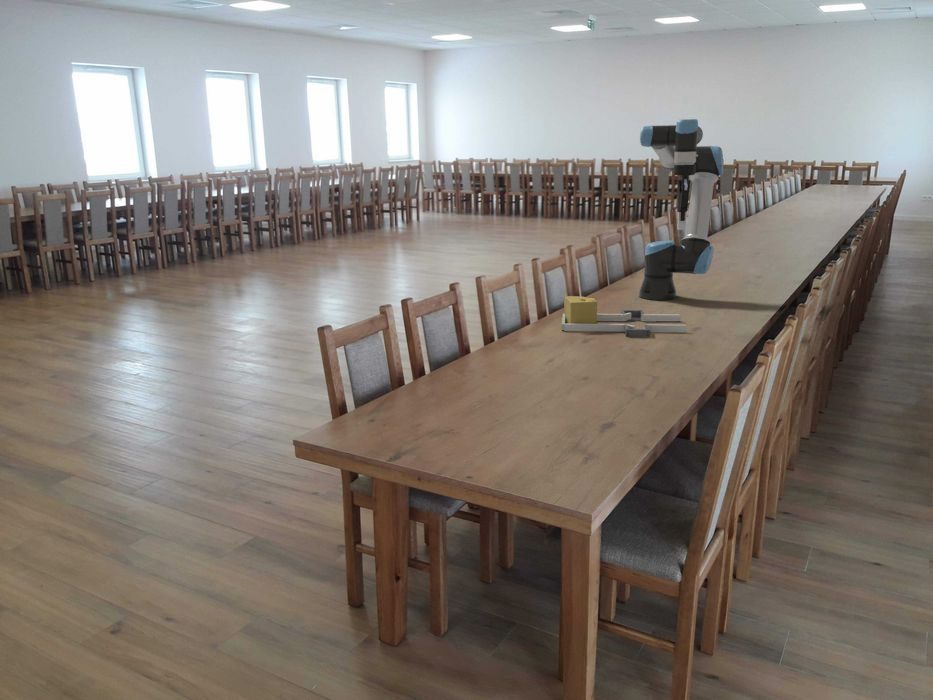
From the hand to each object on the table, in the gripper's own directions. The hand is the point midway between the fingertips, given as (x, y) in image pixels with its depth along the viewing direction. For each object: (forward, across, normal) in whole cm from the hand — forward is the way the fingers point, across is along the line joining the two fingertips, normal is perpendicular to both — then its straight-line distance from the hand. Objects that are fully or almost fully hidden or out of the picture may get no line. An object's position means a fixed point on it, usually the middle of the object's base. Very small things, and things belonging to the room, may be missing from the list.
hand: (681, 229), depth 278 cm
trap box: (+32, -18, +22) cm, 43 cm away
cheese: (+33, -17, +36) cm, 52 cm away
